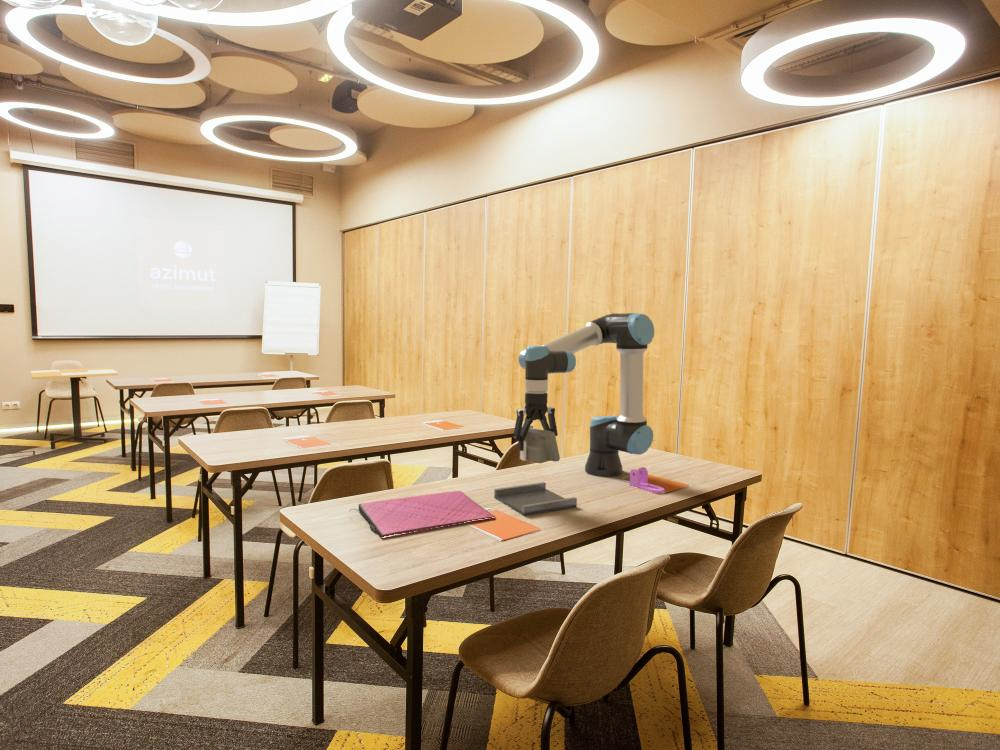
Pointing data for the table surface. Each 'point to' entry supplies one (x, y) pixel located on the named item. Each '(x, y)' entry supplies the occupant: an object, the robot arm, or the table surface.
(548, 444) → the digital clock
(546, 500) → the rail plate
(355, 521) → the table surface
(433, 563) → the table surface
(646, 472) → the bracket
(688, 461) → the table surface
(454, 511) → the laptop bag
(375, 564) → the table surface
